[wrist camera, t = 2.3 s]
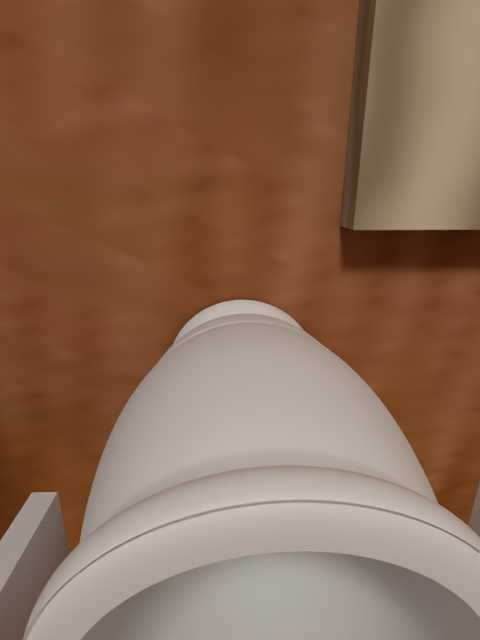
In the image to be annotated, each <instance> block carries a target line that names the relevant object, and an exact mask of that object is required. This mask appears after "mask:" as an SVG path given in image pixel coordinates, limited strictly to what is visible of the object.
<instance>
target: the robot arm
mask: <svg viewBox="0 0 480 640" xmlns="http://www.w3.org/2000/svg"><path fill="white" fill-rule="evenodd" d="M468 526H469V527H470V528H471V529H472V530H473V531H474V532H475V533H476V534H477V535H478V536H479V537H480V483H479V487H478V491H477V495H476V498H475V502H474V506H473V510H472V514H471V517H470V521H469V525H468ZM69 554H70V552H69V547H68V542H67V537H66V532H65V527H64V522H63V517H62V512H61V507H60V502H59V497H58V492H38V493H31V495H30V496H29V498H28V499H27V501H26V502H25V504H24V505H23V507H22V509H21V510H20V512H19V513H18V515H17V516H16V518H15V519H14V521H13V522H12V524H11V525H10V527H9V528H8V530H7V531H6V533H5V534H4V536H3V538H2V539H1V541H0V640H22V639H23V637H24V634H25V630H26V627H27V623H28V621H29V618H30V615H31V613H32V611H33V608H34V606H35V604H36V602H37V600H38V598H39V596H40V594H41V593H42V591H43V589H44V587H45V586H46V584H47V582H48V581H49V579H50V578H51V576H52V575H53V573H54V572H55V571H56V569H57V568H58V567H59V565H60V564H61V563H62V562H63V561H64V560H65V558H66V557H67V556H68V555H69Z"/></svg>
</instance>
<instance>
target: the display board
mask: <svg viewBox="0 0 480 640" xmlns="http://www.w3.org/2000/svg"><path fill="white" fill-rule="evenodd" d="M340 226H341V227H344V228H348V229H351V230H480V0H360V7H359V19H358V30H357V41H356V53H355V64H354V75H353V86H352V98H351V109H350V120H349V132H348V143H347V154H346V166H345V177H344V188H343V199H342V211H341V222H340Z"/></svg>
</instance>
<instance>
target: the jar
mask: <svg viewBox="0 0 480 640" xmlns="http://www.w3.org/2000/svg"><path fill="white" fill-rule="evenodd" d="M22 640H480V537H479V536H478V535H477V534H476V533H475V532H474V531H473V530H472V529H471V528H470V527H469V526H467V525H466V524H465V523H464V522H463V521H461V520H460V519H459V518H458V517H456V516H455V515H454V514H452V513H451V512H450V511H448V510H447V509H445V508H444V507H442V506H441V505H439V504H438V502H437V500H436V498H435V495H434V493H433V490H432V488H431V486H430V484H429V482H428V479H427V477H426V475H425V473H424V471H423V469H422V467H421V465H420V463H419V461H418V459H417V457H416V455H415V454H414V452H413V450H412V448H411V446H410V445H409V443H408V441H407V439H406V438H405V436H404V434H403V433H402V431H401V429H400V428H399V426H398V425H397V423H396V422H395V420H394V419H393V417H392V416H391V414H390V413H389V411H388V410H387V408H386V407H385V406H384V404H383V403H382V402H381V400H380V399H379V398H378V397H377V395H376V394H375V393H374V392H373V391H372V389H371V388H370V387H369V386H368V385H367V384H366V383H365V382H364V381H363V379H362V378H361V377H360V376H359V375H358V374H357V373H356V372H355V371H354V370H353V369H351V368H350V367H349V366H348V365H347V364H346V363H345V362H344V361H343V360H341V359H340V358H339V357H338V356H336V355H335V354H334V353H333V352H331V351H330V350H329V349H327V348H326V347H324V346H323V345H322V344H320V343H319V342H318V341H317V340H316V339H314V338H313V337H312V336H310V335H309V334H308V333H306V332H305V331H304V330H303V329H302V328H301V326H300V325H299V324H298V323H297V322H296V321H295V320H294V319H293V318H292V317H290V316H289V315H288V314H286V313H285V312H283V311H282V310H280V309H278V308H276V307H274V306H272V305H269V304H266V303H263V302H258V301H253V300H232V301H226V302H222V303H218V304H216V305H213V306H211V307H208V308H206V309H204V310H203V311H201V312H200V313H198V314H197V315H195V316H194V317H193V318H192V319H191V320H189V321H188V322H187V323H186V325H185V326H184V327H183V328H182V329H181V331H180V332H179V334H178V335H177V337H176V339H175V341H174V343H173V345H172V346H171V347H170V348H169V349H168V350H167V351H166V353H165V354H164V355H163V356H162V358H161V359H160V360H159V362H158V363H157V364H156V365H155V366H154V368H153V369H152V370H151V371H150V372H149V373H148V374H147V375H146V377H145V378H144V379H143V380H142V382H141V383H140V384H139V386H138V387H137V388H136V390H135V391H134V393H133V394H132V396H131V397H130V399H129V400H128V402H127V404H126V405H125V407H124V409H123V410H122V412H121V414H120V416H119V418H118V420H117V422H116V424H115V426H114V428H113V430H112V432H111V434H110V437H109V439H108V441H107V444H106V446H105V449H104V451H103V454H102V457H101V460H100V462H99V465H98V468H97V471H96V475H95V478H94V481H93V485H92V488H91V492H90V496H89V499H88V503H87V507H86V512H85V516H84V521H83V526H82V531H81V537H80V543H79V545H78V546H77V547H76V548H75V549H74V550H73V551H72V552H71V553H70V554H69V555H68V556H67V557H66V558H65V560H64V561H63V562H62V563H61V564H60V565H59V567H58V568H57V569H56V571H55V572H54V573H53V575H52V576H51V578H50V579H49V581H48V582H47V584H46V586H45V587H44V589H43V591H42V593H41V594H40V596H39V598H38V600H37V602H36V604H35V606H34V608H33V611H32V613H31V615H30V618H29V621H28V623H27V627H26V630H25V634H24V637H23V639H22Z"/></svg>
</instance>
